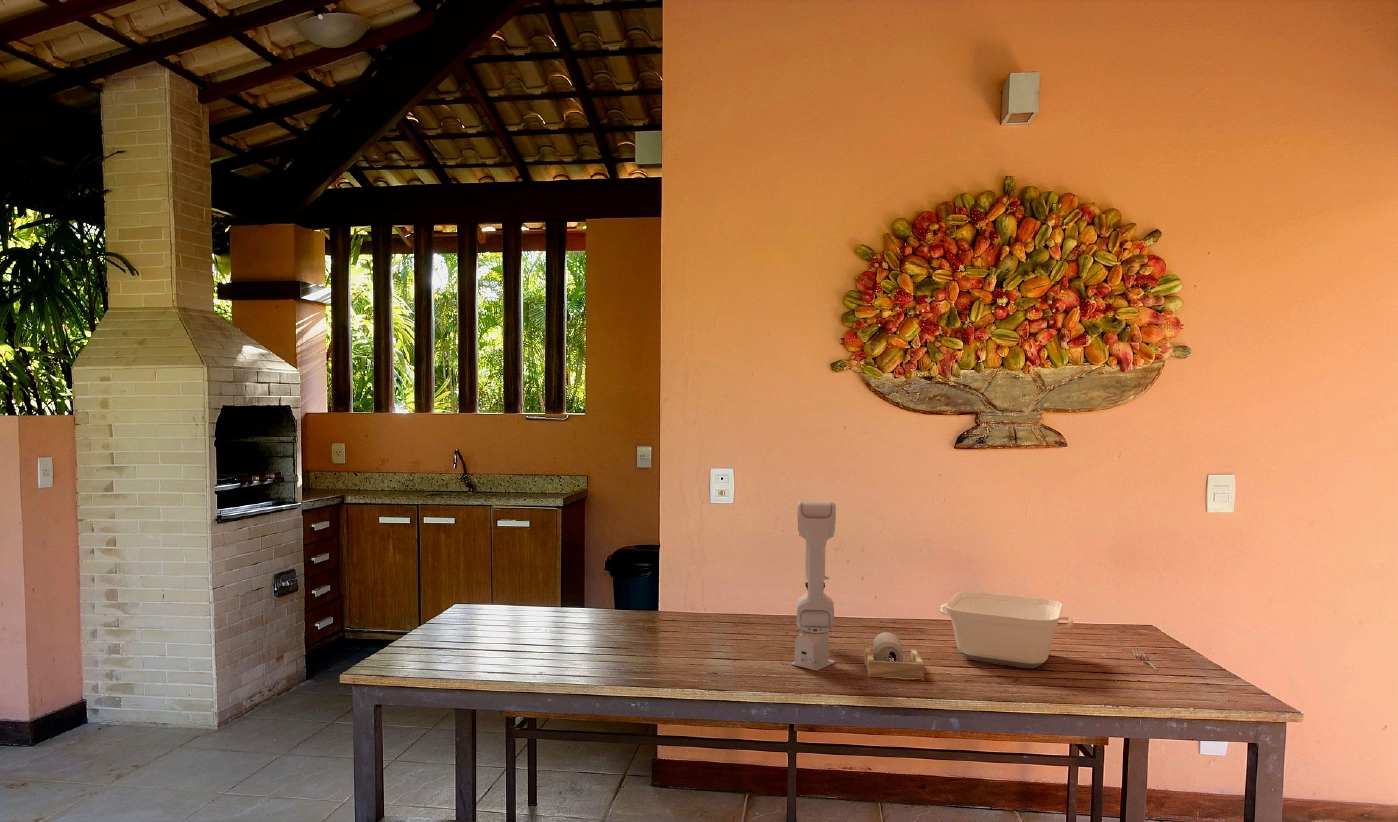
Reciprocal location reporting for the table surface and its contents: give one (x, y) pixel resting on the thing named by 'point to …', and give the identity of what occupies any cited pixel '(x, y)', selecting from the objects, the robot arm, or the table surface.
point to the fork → (1144, 655)
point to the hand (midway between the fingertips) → (814, 607)
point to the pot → (1004, 627)
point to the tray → (894, 666)
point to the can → (887, 647)
